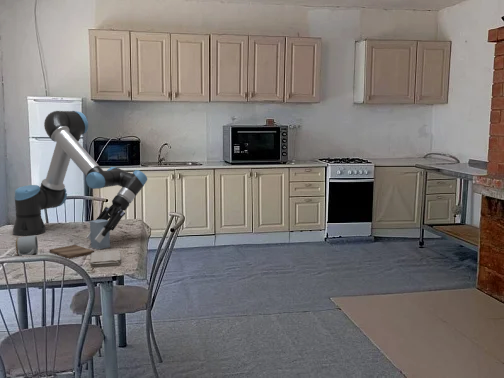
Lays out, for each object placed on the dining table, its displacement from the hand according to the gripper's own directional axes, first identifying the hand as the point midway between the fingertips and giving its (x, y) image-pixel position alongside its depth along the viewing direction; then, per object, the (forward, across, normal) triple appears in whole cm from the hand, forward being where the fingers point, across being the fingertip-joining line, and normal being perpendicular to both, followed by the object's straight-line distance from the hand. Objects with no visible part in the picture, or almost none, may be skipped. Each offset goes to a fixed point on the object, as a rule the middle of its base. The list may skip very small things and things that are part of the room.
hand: (93, 239), depth 232 cm
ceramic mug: (+20, +12, +14) cm, 27 cm away
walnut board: (+10, 0, +5) cm, 11 cm away
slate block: (0, 0, -5) cm, 5 cm away
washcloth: (+9, -22, +2) cm, 23 cm away
